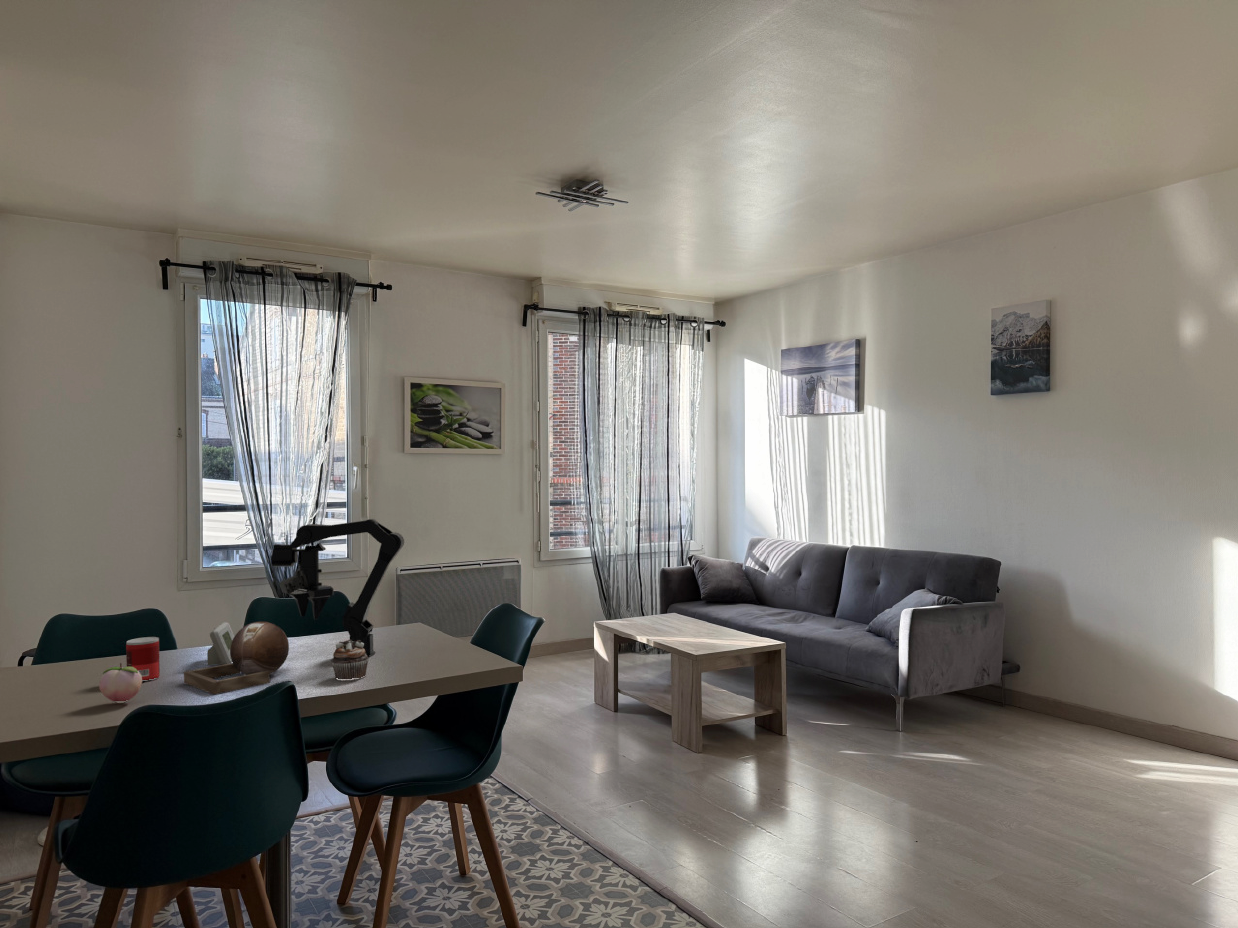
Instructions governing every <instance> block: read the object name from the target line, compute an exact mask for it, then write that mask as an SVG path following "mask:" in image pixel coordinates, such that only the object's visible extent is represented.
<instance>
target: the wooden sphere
mask: <svg viewBox="0 0 1238 928" xmlns="http://www.w3.org/2000/svg"><path fill="white" fill-rule="evenodd" d="M289 651H290V643H289V639H288V637H287V635H286V633H285V632H284V630H283V629H282V628H281V627H280V626H278V625H276V623H272V622H269V621H262V620H261V621H255V622H251V623H248V624H246V625H244V626H243V627H242V628H240V629H239V631H237V633H236V634H235V635H234V638H233V640H232V643H231V647H230V656H231V660H232V663H233V664H234V666H235V667H236V668H237V669H238V670H239V671H240V674H243V675H248V674H253V673H258V672H263V671H269V676H270V675H272V674H273V673H275V672H277V671H278V670H279V669H280V668H281V667H282V666H283V665H284V663H285V662H286V660H287V657H288V656H289Z"/></svg>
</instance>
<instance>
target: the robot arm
mask: <svg viewBox="0 0 1238 928" xmlns="http://www.w3.org/2000/svg"><path fill="white" fill-rule="evenodd" d="M364 533H367V534H369V535H370V536H371V537H372V538H373V539H375V541H377V542H378V543H379V544H380V547H379V550H378V557H377V560H376V562H375V564H374V565H373V568H372V570H371V572H370V574H369V576H368V578H367V580H366V581H365V584H364V586H363V588H362V590H361V592H360V594H359V596H358V599H357V600H356V602H355V603H354V602H353V601H352V602H350V603H349V604H347V605H346V609H345V613H344V614H343V615H342V616H341V618H343V619H342V620H341V621H342V622H341V623H342V624H341V625H342V626H343V629H344V630H345V631H346V632H347V633H348V635H349V640H352V641H356V640H360V641H361V642H362V643H364V646H363V648H364V649H365V653H366V654H367V656H368V658H370V657H372V656H373V655H374V654H375V653H376V650H375V651H374V633H372V632H373V628H374V624H373V623H371V622H370V621H369V620H368V619H367V618H368V615H369V610H370V606H371V602H372V600H373V599H374V596H375V594H376V592H377V590H378V588H379V587H380V584H381V582H382V580H383V578H384V577H385V574H386V572H387V570H388V568H389V566H390V564H391V563H392V561H393V560H394V559H395V558H396V556H397V555H398V554H399V553H400V551H401V549H403V547H404V545H405V539H404V538H405V537H404V536H402V534H400V533H399V532H393V531H392V530H390V529H389V528H388V527H386V526H384V525H382V524H381V523H380V522H378V520H376V519H374V518H369V519H366V520H358V521H357V520H356V521H352V522H345V523H337V524H335V523H334V524H319V523H317V524H316V523H309V524H305V525H302V526H299V528H298V529H297V531H296V536H295V538H294V539H293V541H292V542H291V544H281V543H275V544H273V549H272V551H271V556H270V562H271V566H272V567H274V568H286V567H294V566H295V564H297V563H298V569H295V571H294V575H292V576H290V577H288V578H286V579H284V580H281V581H280V582H279V583H278V584H279V587H280V590H281V591H282V593H283V594H284V593H285V594H288V596H290V597H291V598H293V599H294V600H295V603H296V606H297V609H298V612H299V614H300V617H303V618H304V617H305V616H306V614H307V610H308V606H309V603H310V602H311V608H312V616H313V619H314V620H318V619H319V617H320V616H321V613H322V612H323V609H324V607H325V605H326V604H327V601H328V600H329V598H331V596H334V588H333V587H332V586H331V585H325V584H324V585H323V582H320V573H322V569H321V568H320V564H319V563H320V562H319V560H320V555H319V554H320V553H319V552H323V551H325V550H327V548H326V547H325V546H324V545H322V544H321V542H320V541H323V540H326V539H329V538H335V537H342V536H350V535H356V534H364ZM316 542H318V543H317V544H316V545H310V544H313V543H316ZM304 546H305V547H304ZM301 547H304V548H301Z"/></svg>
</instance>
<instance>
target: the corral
mask: <svg viewBox="0 0 1238 928" xmlns="http://www.w3.org/2000/svg"><path fill="white" fill-rule="evenodd" d="M239 674H241V672H240V671H239V670H238V669H237V668H236V667H235V666H234V664H233V662H232V663H229V664H224V665H223V664H218V665H212V666H209V667H203V668H198V669H192V670H186V671H183V684H184V685H185V684H186V685H188V686H191V687H193V688H196V689H199V690H202V691H204V692H206V693H209V694H211V695H218V694H223V693H227V692H228V693H229V692H233V691H237V690H242V689H247V688H252V687H256V686H262V685H266V684H269V683H270V681H271V680H270V675H269V671H263V672H258V673H253V674H248V675H245V674H243V675H239ZM233 675H239V676H234V677H228V676H233ZM223 677H228V678H224V679H218V678H223ZM217 679H218V680H217Z"/></svg>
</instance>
